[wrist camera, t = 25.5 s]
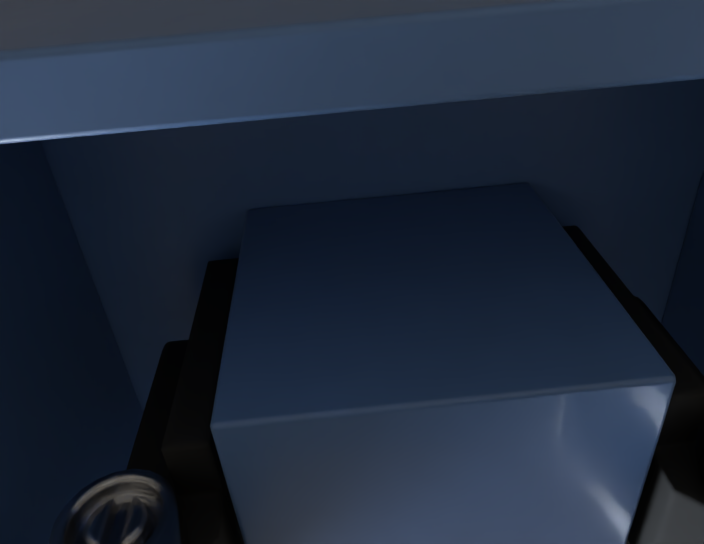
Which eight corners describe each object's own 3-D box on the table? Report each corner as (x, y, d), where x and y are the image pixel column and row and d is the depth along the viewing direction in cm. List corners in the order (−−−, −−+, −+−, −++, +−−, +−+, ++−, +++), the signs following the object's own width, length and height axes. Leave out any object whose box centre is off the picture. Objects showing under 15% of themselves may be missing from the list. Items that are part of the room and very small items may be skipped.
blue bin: (-48, -21, 8) (-449, 92, 4) (791, -95, 8) (1321, -69, 4) (163, 504, 14) (103, 770, 10) (633, 456, 14) (771, 695, 10)
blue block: (246, 208, 9) (208, 426, 6) (530, 181, 9) (680, 377, 6) (284, 411, 12) (275, 656, 8) (509, 387, 12) (604, 620, 8)
